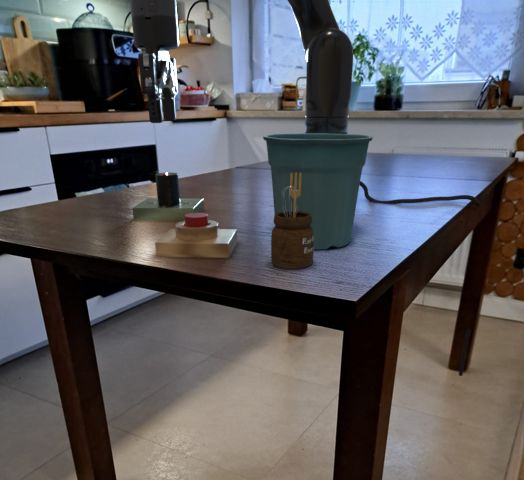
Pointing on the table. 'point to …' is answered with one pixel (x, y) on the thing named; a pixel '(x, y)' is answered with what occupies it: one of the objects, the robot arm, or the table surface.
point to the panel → (166, 210)
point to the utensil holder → (292, 235)
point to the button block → (197, 241)
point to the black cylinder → (167, 188)
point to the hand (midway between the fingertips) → (163, 121)
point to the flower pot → (319, 179)
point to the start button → (196, 220)
